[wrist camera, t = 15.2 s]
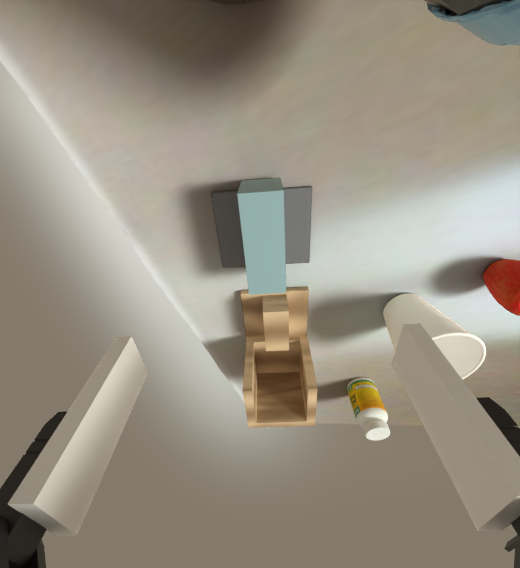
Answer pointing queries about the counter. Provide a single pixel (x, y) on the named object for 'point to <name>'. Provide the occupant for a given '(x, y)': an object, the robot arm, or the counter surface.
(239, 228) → the mat
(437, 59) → the counter surface
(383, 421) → the supplement bottle
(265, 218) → the bar
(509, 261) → the apple
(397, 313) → the cup
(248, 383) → the cradle
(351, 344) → the counter surface
